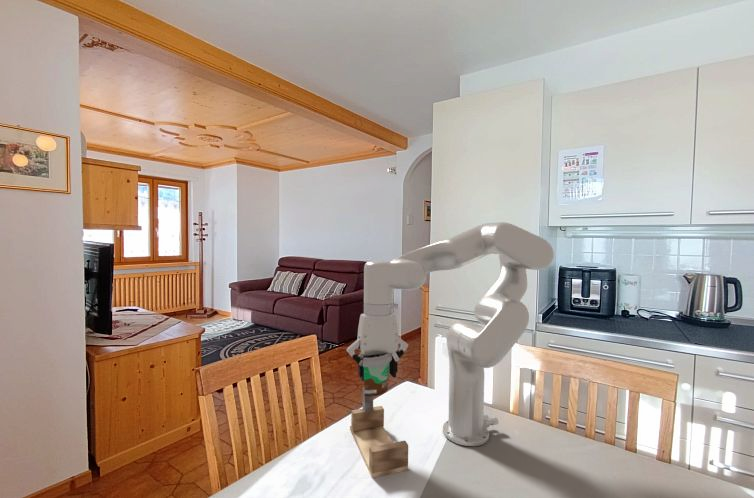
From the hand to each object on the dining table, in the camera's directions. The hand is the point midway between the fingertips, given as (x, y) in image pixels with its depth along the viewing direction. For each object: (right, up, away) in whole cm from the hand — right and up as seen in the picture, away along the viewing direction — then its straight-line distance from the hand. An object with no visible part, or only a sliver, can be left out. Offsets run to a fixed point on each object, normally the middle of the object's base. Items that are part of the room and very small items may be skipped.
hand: (377, 376), depth 90 cm
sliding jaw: (-3, -17, +9) cm, 20 cm away
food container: (+1, -3, 0) cm, 4 cm away
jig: (0, -19, +1) cm, 19 cm away
